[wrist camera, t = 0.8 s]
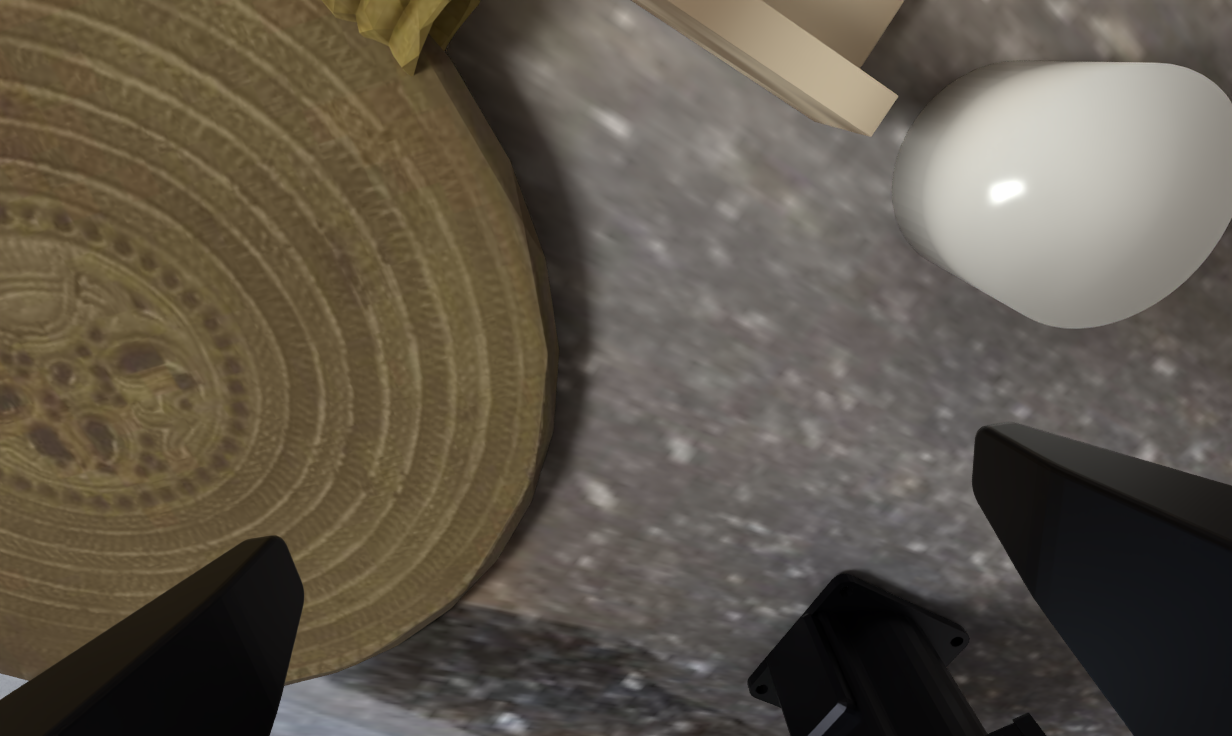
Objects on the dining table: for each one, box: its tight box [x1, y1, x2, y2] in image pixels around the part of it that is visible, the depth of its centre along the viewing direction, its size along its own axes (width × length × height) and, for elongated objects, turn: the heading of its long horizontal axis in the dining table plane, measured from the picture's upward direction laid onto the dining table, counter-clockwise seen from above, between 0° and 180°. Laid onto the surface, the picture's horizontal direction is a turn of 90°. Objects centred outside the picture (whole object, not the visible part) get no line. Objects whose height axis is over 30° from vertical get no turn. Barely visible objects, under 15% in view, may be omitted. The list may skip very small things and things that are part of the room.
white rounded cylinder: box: [892, 61, 1232, 329], centre depth 18 cm, size 6×6×5 cm
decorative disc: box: [0, 0, 559, 686], centre depth 20 cm, size 29×3×30 cm
